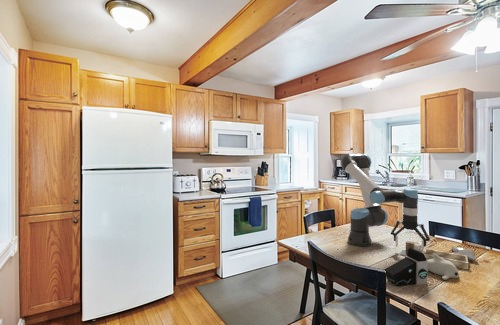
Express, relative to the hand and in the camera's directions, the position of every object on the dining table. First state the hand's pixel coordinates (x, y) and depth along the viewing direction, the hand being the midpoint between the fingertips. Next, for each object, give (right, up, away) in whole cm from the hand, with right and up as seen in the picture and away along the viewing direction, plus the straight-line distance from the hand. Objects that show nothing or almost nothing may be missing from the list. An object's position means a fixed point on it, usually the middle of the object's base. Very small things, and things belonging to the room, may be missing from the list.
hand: (409, 248), depth 155 cm
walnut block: (0, -3, 0) cm, 3 cm away
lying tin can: (+27, -3, -7) cm, 28 cm away
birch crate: (+14, -4, -10) cm, 18 cm away
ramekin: (+8, -3, +9) cm, 12 cm away
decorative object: (-23, -5, -34) cm, 41 cm away
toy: (-2, -4, -24) cm, 25 cm away
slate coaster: (0, -3, 0) cm, 3 cm away
